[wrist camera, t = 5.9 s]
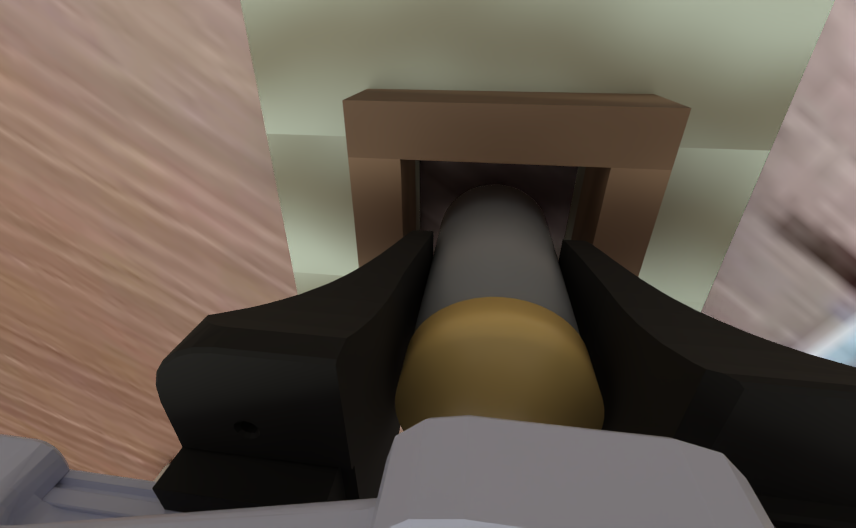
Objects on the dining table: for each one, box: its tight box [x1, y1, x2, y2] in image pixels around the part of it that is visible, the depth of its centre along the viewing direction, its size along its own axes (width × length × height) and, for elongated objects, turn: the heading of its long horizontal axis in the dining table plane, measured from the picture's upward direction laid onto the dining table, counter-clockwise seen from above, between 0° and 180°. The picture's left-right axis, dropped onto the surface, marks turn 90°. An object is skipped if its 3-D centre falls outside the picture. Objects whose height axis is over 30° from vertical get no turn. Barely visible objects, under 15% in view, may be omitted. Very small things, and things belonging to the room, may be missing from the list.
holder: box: [240, 0, 835, 312], centre depth 14 cm, size 14×16×4 cm
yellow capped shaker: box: [395, 184, 604, 431], centre depth 10 cm, size 4×4×8 cm
